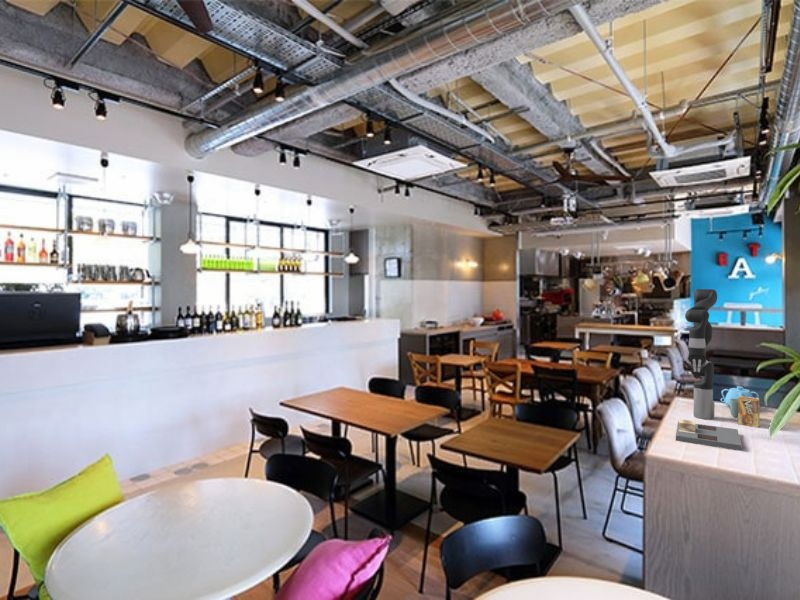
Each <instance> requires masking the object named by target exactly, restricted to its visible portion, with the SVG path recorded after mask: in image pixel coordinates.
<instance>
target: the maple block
mask: <svg viewBox="0 0 800 600" xmlns="http://www.w3.org/2000/svg"><path fill="white" fill-rule="evenodd" d="M678 421H679V430H681V431H688V432H695V424H696V420H689V419H682V418H680V419H679V420H678Z"/></svg>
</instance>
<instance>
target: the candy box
mask: <svg viewBox="0 0 800 600" xmlns="http://www.w3.org/2000/svg"><path fill="white" fill-rule="evenodd" d="M760 405H761V403H760V397H759V398H757V397H754V398H752V397H744V396H739V397H738V418H737V419H738V420H737V421H738V422H737V424H738V425H741V426H747V425H748V427H752V426H756V427H755V428H759V427H760V422H761V421H760V410H761V409H760ZM758 426H759V427H758Z"/></svg>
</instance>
